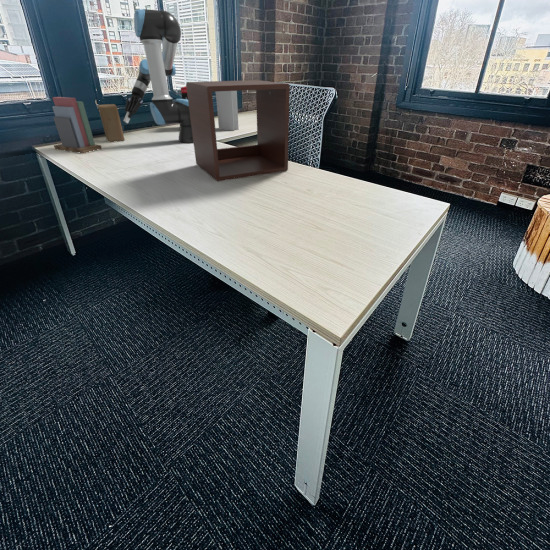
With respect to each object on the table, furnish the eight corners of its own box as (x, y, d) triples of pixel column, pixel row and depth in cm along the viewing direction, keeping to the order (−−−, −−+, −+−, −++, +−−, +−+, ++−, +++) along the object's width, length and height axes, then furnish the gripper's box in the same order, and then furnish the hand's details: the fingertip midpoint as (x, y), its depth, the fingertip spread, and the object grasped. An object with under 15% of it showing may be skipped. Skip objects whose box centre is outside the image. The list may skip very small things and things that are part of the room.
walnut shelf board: (101, 148, 190) (100, 145, 189) (83, 153, 181) (82, 149, 180) (73, 145, 199) (72, 141, 198) (54, 149, 190) (53, 145, 189)
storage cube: (216, 181, 140) (206, 86, 121) (196, 165, 161) (185, 82, 142) (287, 170, 153) (289, 83, 134) (260, 157, 175) (259, 80, 156)
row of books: (95, 144, 190) (81, 97, 177) (79, 148, 183) (63, 99, 169) (77, 142, 196) (62, 96, 183) (61, 145, 188) (44, 98, 175)
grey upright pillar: (238, 129, 241) (236, 82, 225) (234, 130, 237) (231, 82, 221) (223, 127, 248) (220, 81, 231) (218, 129, 244) (214, 81, 227)
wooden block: (107, 142, 205) (98, 106, 194) (106, 139, 212) (97, 104, 201) (125, 141, 208) (116, 105, 197) (123, 138, 216) (115, 103, 205)
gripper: (150, 95, 219) (137, 126, 216) (135, 94, 223) (122, 124, 220) (142, 86, 212) (129, 119, 209) (127, 85, 216) (114, 117, 213)
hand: (125, 122), depth 214 cm, fingers closed
